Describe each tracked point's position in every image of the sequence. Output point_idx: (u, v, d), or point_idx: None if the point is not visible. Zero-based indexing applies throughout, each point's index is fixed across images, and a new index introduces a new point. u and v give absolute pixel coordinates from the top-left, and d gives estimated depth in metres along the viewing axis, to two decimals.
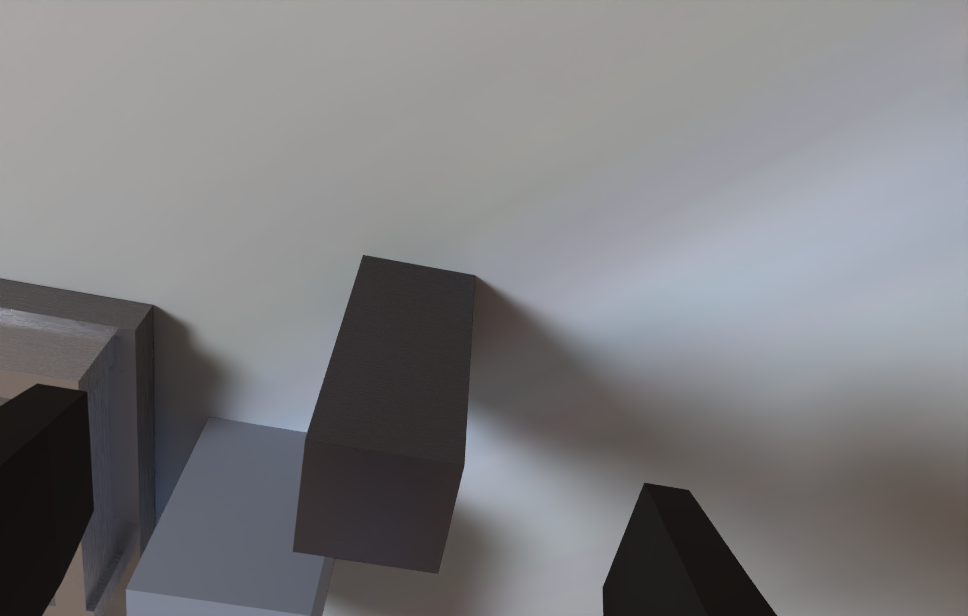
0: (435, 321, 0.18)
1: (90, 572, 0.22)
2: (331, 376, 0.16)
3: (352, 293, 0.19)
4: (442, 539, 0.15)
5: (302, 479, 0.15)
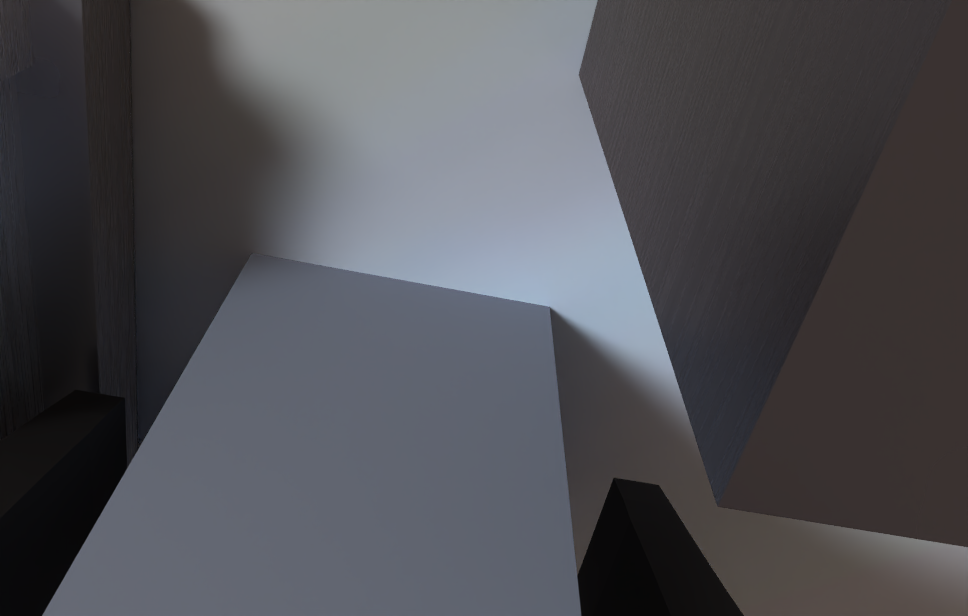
0: None
1: None
2: None
3: None
4: None
5: (929, 75, 0.03)
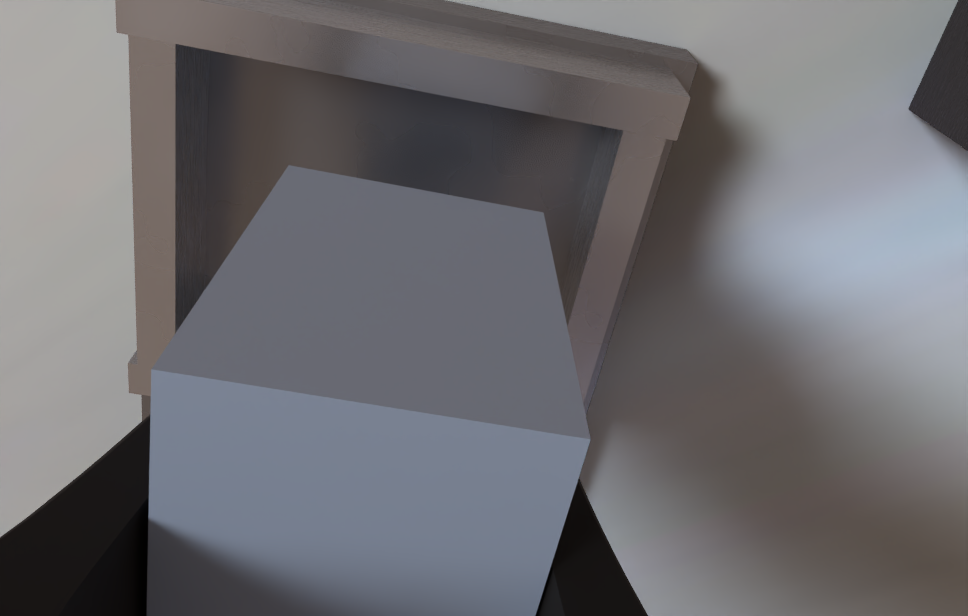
0: None
1: None
2: None
3: None
4: None
5: None
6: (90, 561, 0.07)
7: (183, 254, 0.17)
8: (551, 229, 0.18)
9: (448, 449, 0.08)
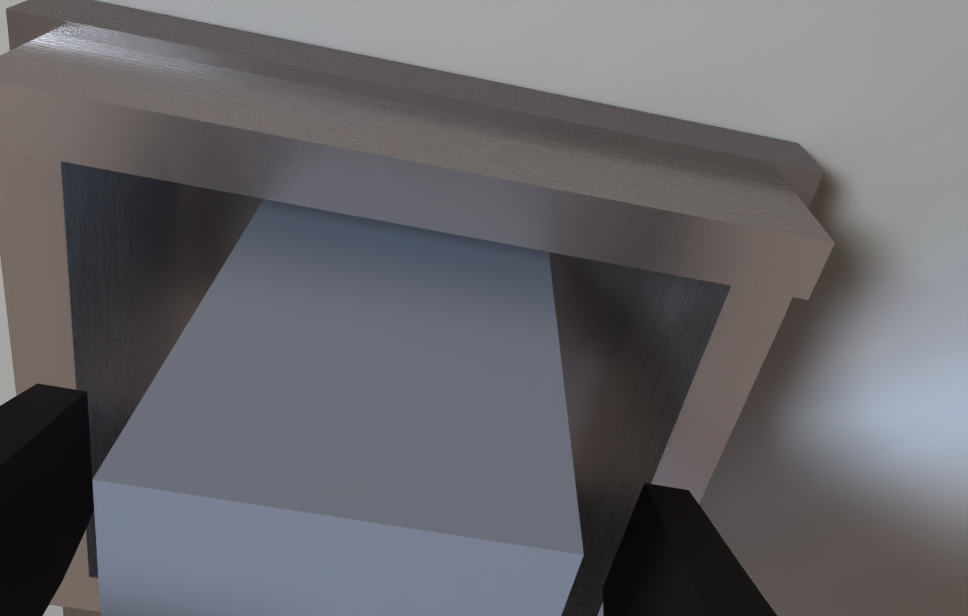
0: None
1: None
2: None
3: None
4: None
5: None
6: None
7: (94, 430, 0.12)
8: (605, 381, 0.13)
9: (425, 561, 0.07)
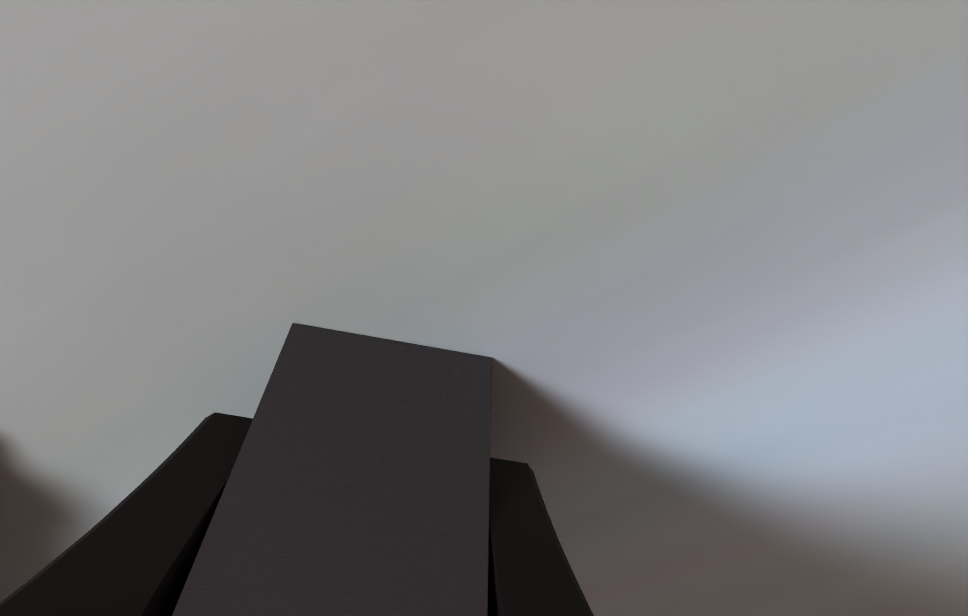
0: (420, 464, 0.09)
1: None
2: None
3: (260, 407, 0.10)
4: None
5: None
6: (160, 571, 0.07)
7: None
8: None
9: None
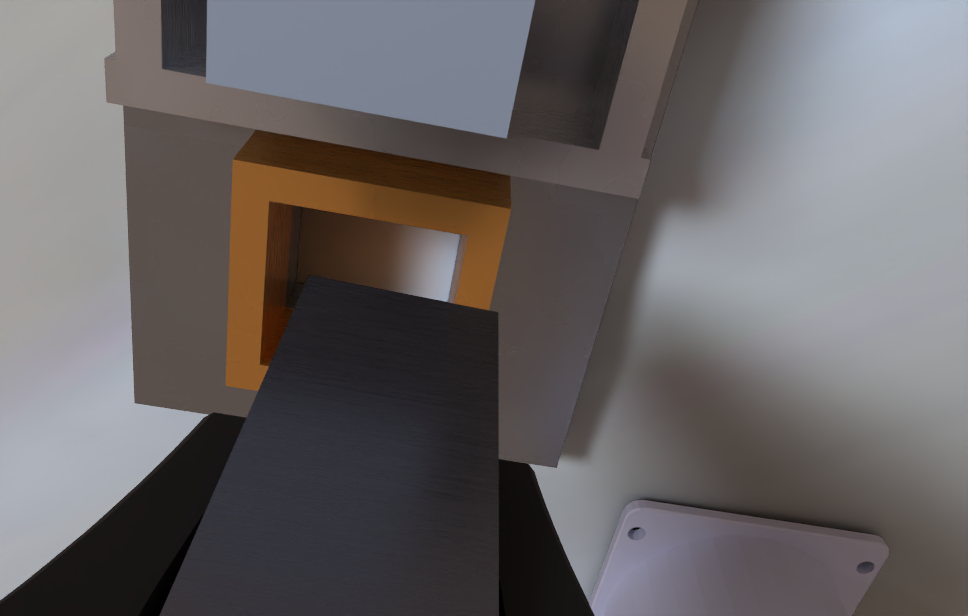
0: (432, 398, 0.10)
1: (653, 95, 0.15)
2: (210, 533, 0.07)
3: (281, 344, 0.10)
4: None
5: None
6: (158, 571, 0.07)
7: None
8: None
9: None
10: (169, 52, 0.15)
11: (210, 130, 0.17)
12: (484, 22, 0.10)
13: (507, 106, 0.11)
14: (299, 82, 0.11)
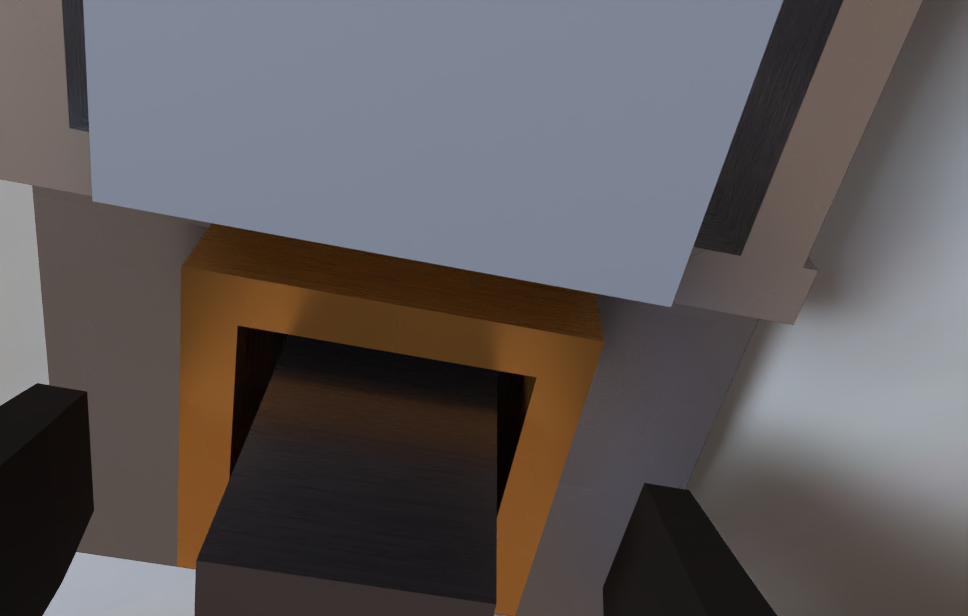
0: None
1: None
2: (261, 430, 0.09)
3: None
4: None
5: None
6: None
7: None
8: None
9: None
10: (83, 101, 0.10)
11: None
12: (653, 94, 0.05)
13: (679, 251, 0.06)
14: (276, 202, 0.05)
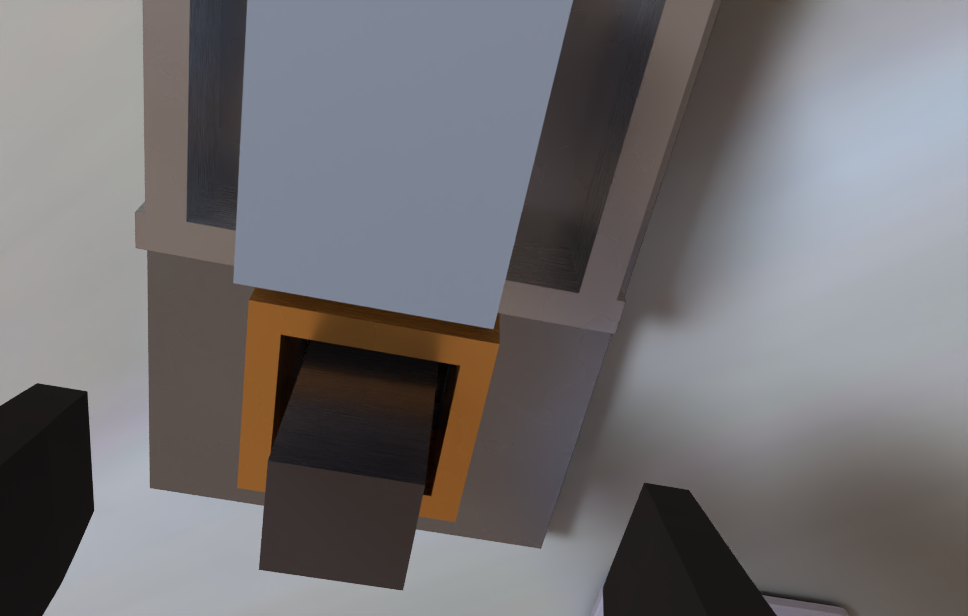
0: None
1: (628, 246, 0.17)
2: (297, 396, 0.16)
3: None
4: (406, 557, 0.16)
5: (266, 499, 0.15)
6: None
7: (196, 86, 0.15)
8: (595, 73, 0.17)
9: (468, 3, 0.10)
10: (193, 204, 0.17)
11: None
12: (474, 241, 0.12)
13: (494, 304, 0.13)
14: (314, 284, 0.12)
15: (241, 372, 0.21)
